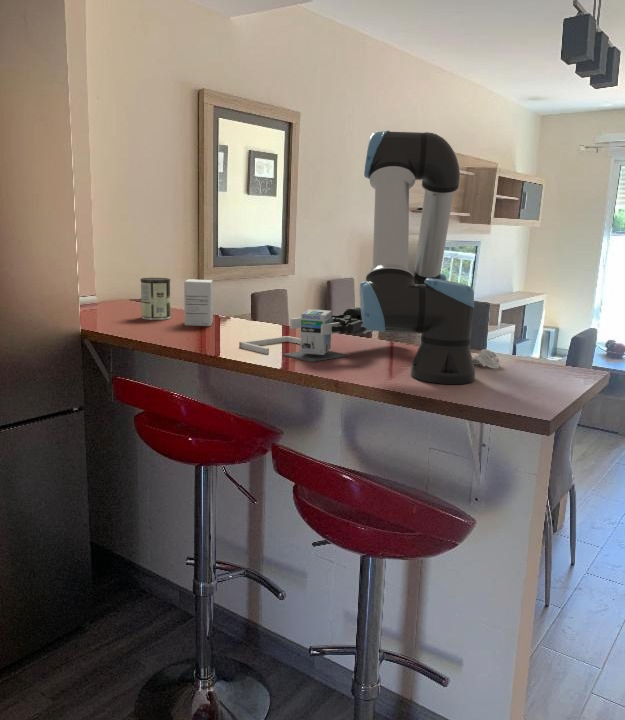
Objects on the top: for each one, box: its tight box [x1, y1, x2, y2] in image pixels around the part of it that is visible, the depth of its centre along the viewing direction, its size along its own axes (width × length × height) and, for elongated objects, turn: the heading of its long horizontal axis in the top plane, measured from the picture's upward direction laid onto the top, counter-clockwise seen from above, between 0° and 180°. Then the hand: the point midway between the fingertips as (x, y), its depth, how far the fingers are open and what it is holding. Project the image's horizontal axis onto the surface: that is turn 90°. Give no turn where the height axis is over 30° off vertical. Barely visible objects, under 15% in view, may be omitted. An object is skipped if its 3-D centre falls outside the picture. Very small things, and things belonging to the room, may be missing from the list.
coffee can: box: [140, 277, 171, 321], centre depth 228 cm, size 10×10×14 cm
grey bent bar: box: [238, 335, 301, 355], centre depth 184 cm, size 12×19×2 cm, turn 136°
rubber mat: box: [282, 350, 348, 363], centre depth 174 cm, size 11×14×1 cm
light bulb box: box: [299, 308, 333, 355], centre depth 173 cm, size 11×7×11 cm, turn 168°
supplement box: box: [183, 278, 214, 327], centre depth 219 cm, size 9×9×15 cm
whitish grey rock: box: [472, 348, 500, 370], centre depth 170 cm, size 8×7×5 cm
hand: (306, 326), depth 170 cm, fingers closed on light bulb box, 11 cm apart
